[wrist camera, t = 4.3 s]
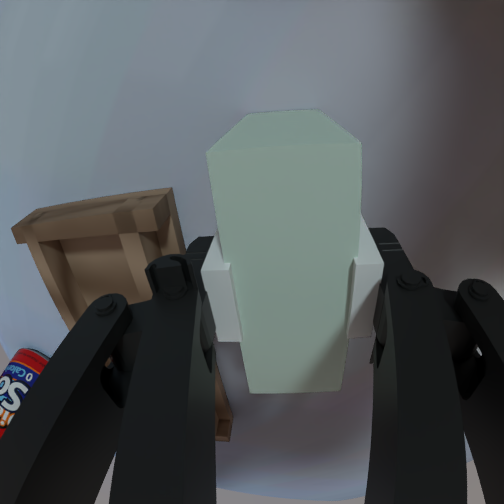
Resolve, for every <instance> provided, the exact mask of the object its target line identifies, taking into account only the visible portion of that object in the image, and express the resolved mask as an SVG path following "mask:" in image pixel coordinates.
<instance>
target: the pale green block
mask: <svg viewBox="0 0 504 504" xmlns="http://www.w3.org/2000/svg"><path fill="white" fill-rule="evenodd" d="M206 158H207V164H208V171H209V177H210V183H211V189H212V195H213V201H214V207H215V213H216V219H217V224H218V230H219V236H220V242H221V247H222V253H223V258H224V263H231V267H232V273H233V279H234V285H235V291H236V296H237V302H238V308H239V314H240V319H241V325H242V331H243V340H242V342H240V347H241V352H242V357H243V362H244V366H245V371H246V376H247V381H248V385H249V390H250V393H313V392H331V391H340V390H341V385H342V380H343V374H344V368H345V362H346V356H347V349H348V343H349V339H347V333H346V330H347V322H348V313H349V304H350V295H351V285H352V274H353V261H354V258H356V257H358V252H359V237H360V218H361V191H362V143H361V142H360V141H358V140H357V139H356V138H355V137H353V136H352V135H351V134H350V133H349V132H347V131H346V130H345V129H343V128H342V127H341V126H340V125H338V124H337V123H336V122H335V121H333V120H332V119H331V118H329V117H328V116H327V115H325V114H324V113H323V112H321V111H320V110H319V109H317V110H293V111H276V112H264V113H252V114H247V115H246V116H245V117H244V118H243V119H242V120H241V121H239V122H238V123H237V124H236V125H235V126H234V127H233V128H232V129H231V130H229V131H228V132H227V133H226V134H225V135H224V136H223V137H222V138H221V139H220V140H219V141H218V142H216V143H215V144H214V145H213V146H212V147H211V148H210V149H209V150H208V151H207V152H206Z"/></svg>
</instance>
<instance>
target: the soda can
mask: <svg viewBox="0 0 504 504" xmlns="http://www.w3.org/2000/svg"><path fill="white" fill-rule="evenodd" d="M49 360H50V359H49V358H48V357H46V356H45V355H43V354H42V353H40V352H37V351H34V350H31V349H27V348H22V349H19V350H18V351H17V352H16V354H15V355H14V357H13V358H12V360H11V361H10V363H9V364H8V366H7V367H6V369H5V370H4V372H3V373H2V375H1V376H0V438H1V437H2V435H3V433H4V431H5V429H6V428H7V426H8V424H9V423H10V421H11V419H12V417H13V416H14V414H15V412H16V411H17V409H18V408H19V406H20V404H21V403H22V401H23V399H24V398H25V396H26V395H27V393H28V392H29V390H30V388H31V387H32V385H33V384H34V382H35V381H36V379H37V378H38V376H39V375H40V373H41V372H42V370H43V369H44V367H45V366H46V364H47V363H48V361H49Z"/></svg>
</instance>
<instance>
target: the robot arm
mask: <svg viewBox="0 0 504 504" xmlns="http://www.w3.org/2000/svg"><path fill="white" fill-rule="evenodd" d="M144 271H145V274H146V276H147V279H148V282H149V285H150V288H151V291H152V294H153V295H152V299H151V300H147V301H143V302H139V303H134V304H130V305H129V304H128V302H127V300H126V298H125V297H124V296H123V295H121V294H118V293H112V294H106V295H103V296H101V297H99V298H98V299H96V300H94V301H93V302H92V303H91V304H90V305H89V306H88V308H87V309H86V310H85V312H84V313H83V314H82V316H81V317H80V318H79V320H78V321H77V322H76V324H75V325H74V326H73V328H72V329H71V330H70V332H69V333H68V334H67V336H66V337H65V339H64V340H63V341H62V343H61V344H60V346H59V347H58V348H57V350H56V351H55V353H54V354H53V356H52V357H51V358H50V360H49V361H48V363H47V364H46V366H45V367H44V369H43V370H42V372H41V373H40V375H39V376H38V378H37V379H36V381H35V382H34V384H33V385H32V387H31V388H30V390H29V392H28V393H27V395H26V396H25V398H24V399H23V401H22V403H21V404H20V406H19V408H18V409H17V411H16V412H15V414H14V416H13V417H12V419H11V421H10V423H9V424H8V426H7V428H6V429H5V431H4V433H3V435H2V437H1V438H0V504H94V503H95V500H96V498H97V495H98V493H99V490H100V488H101V485H102V483H103V481H104V478H105V476H106V474H107V471H108V469H109V466H110V464H111V462H112V460H113V457H114V455H115V453H116V457H115V463H114V470H113V476H112V484H111V491H110V499H109V504H216V461H215V363H216V352H215V348H214V344H213V338H214V334H215V330H216V334H217V338H218V342H242V340H243V331H242V325H241V319H240V314H239V308H238V302H237V296H236V291H235V285H234V279H233V273H232V267H231V263H224V258H223V253H222V247H221V242H220V236H219V230H218V228H217V231H216V233H215V236H206V237H198V238H197V239H195V240H194V241H193V242H192V243H191V244H190V245H189V247H188V249H187V251H186V254H185V255H182V254H169V255H165V256H161V257H159V258H157V259H155V260H153V261H152V262H151V263H149V264H148V265H147V267H146V268H145V270H144ZM373 325H374V328H375V332H376V339H375V343H374V347H373V351H372V355H371V359H370V363H373V361H374V380H373V416H372V435H371V448H370V460H369V470H368V480H367V488H366V496H365V503H364V504H467V468H466V451H465V439H464V433H465V436H466V438H467V441H468V444H469V447H470V450H471V453H472V457H473V460H474V463H475V466H476V469H477V473H478V476H479V479H480V483H481V487H482V491H483V494H484V499H485V502H486V504H504V300H503V299H502V297H501V296H500V295H499V293H498V292H497V291H496V290H495V289H494V288H493V287H492V286H491V285H490V284H488V283H486V282H485V281H483V280H479V279H466V280H464V281H462V282H461V283H460V285H459V288H458V291H457V292H456V291H450V290H443V289H438V288H434V287H433V285H432V282H431V281H430V279H429V278H428V277H427V276H426V275H424V274H423V273H421V272H419V271H416V270H414V269H413V267H412V265H411V263H410V262H409V260H408V258H407V256H406V254H405V253H404V251H403V250H402V247H401V245H400V244H399V242H398V240H397V238H396V237H395V235H394V234H393V233H392V232H390V231H389V230H387V229H386V228H368V227H367V225H366V223H365V221H364V219H363V217H362V215H361V218H360V237H359V252H358V257H356V258H354V261H353V274H352V285H351V295H350V304H349V313H348V322H347V330H346V333H347V339H349V338H363V337H371V334H372V329H373ZM477 347H479V349H480V351H481V353H482V356H480V354H479V353H478V352H477V350H476V349H477ZM108 358H110V360H111V362H110V364H109V365H108V366H107V367H106V366H105V363H106V362H107V360H108ZM116 450H117V451H116Z"/></svg>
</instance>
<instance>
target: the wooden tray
mask: <svg viewBox="0 0 504 504" xmlns="http://www.w3.org/2000/svg"><path fill="white" fill-rule="evenodd" d="M11 230H12V232H13V235H14V238H15V240H16V243H17V244H22V243H27V245H28V247H29V250H30V252H31V254H32V257H33V259H34V261H35V264H36V266H37V268H38V270H39V273H40V275H41V277H42V279H43V281H44V283H45V285H46V287H47V289H48V291H49V293H50V295H51V297H52V299H53V301H54V303H55V305H56V307H57V309H58V311H59V313H60V315H61V316H62V318H63V320H64V322H65V324H66V325H67V327H68V329H69V331H70V330H71V329H72V328H73V326H74V325H75V324H76V322H77V321H78V320H79V318H80V317H81V316H82V314H83V313H84V312H85V310H86V309H87V308H88V306H89V305H90V304H91V303H92V302H93V301H94V300H96V299H98V298H99V297H101V296H103V295H106V294H112V293H118V294H121V295H123V296H124V297H125V298H126V300H127V302H128V304H129V305H130V304H134V303H139V302H143V301H147V300H151V299H152V295H153V294H152V291H151V288H150V285H149V282H148V279H147V276H146V274H145V271H144V270H145V268H146V267H147V265H148V264H149V263H151V262H152V261H153V260H155V259H157V258H159V257H161V256H165V255H169V254H182V255H185V254H186V248H185V244H184V240H183V235H182V231H181V227H180V222H179V218H178V213H177V208H176V204H175V199H174V194H173V190H172V188H163V189H155V190H148V191H140V192H133V193H126V194H119V195H113V196H106V197H100V198H94V199H88V200H82V201H76V202H71V203H65V204H60V205H55V206H49V207H44V208H39V209H36V210H34V211H33V212H32V213H30V214H29V215H28V216H26V217H25V218H24V219H22V220H21V221H20V222H18V223H17V224H16V225H14V226H13V227H12V228H11ZM110 362H111V360H110V358H108V360H107V362H106V363H105V366H106V367H107V366H108V365H109V364H110ZM232 423H233V415H232V412H231V409H230V406H229V402H228V399H227V396H226V393H225V390H224V387H223V383H222V380H221V377H220V374H219V370H218V367H217V364H216V363H215V441H226V442H230V436H231V429H232Z"/></svg>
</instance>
